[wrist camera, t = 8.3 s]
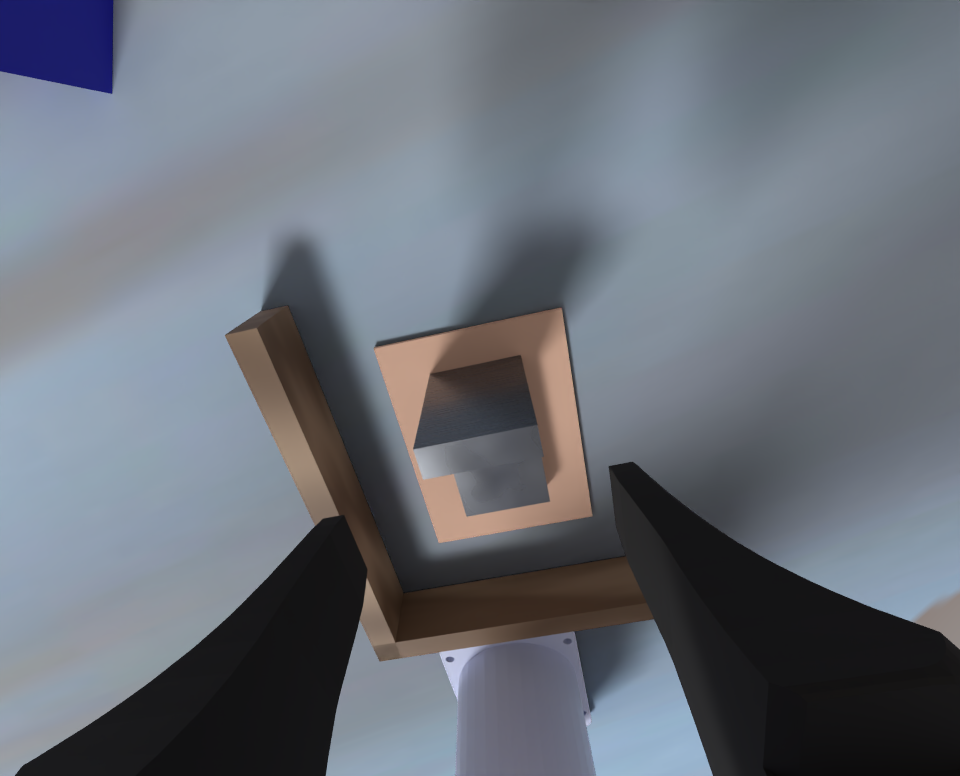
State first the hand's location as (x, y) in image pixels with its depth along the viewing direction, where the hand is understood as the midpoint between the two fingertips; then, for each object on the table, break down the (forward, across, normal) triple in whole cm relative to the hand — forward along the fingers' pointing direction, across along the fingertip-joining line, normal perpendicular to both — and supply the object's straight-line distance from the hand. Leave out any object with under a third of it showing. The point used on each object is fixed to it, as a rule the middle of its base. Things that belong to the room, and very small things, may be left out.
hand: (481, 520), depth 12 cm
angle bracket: (+9, 0, +3) cm, 9 cm away
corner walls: (+9, +1, +4) cm, 10 cm away
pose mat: (+9, 0, +3) cm, 9 cm away
